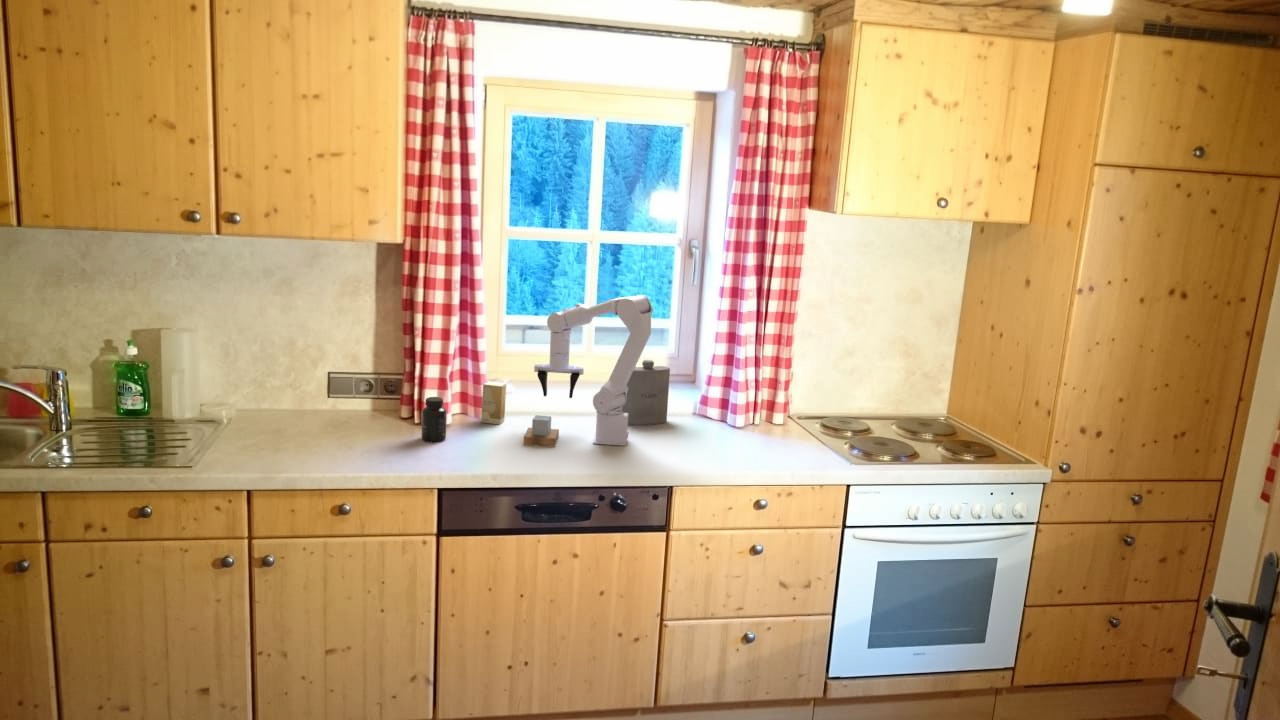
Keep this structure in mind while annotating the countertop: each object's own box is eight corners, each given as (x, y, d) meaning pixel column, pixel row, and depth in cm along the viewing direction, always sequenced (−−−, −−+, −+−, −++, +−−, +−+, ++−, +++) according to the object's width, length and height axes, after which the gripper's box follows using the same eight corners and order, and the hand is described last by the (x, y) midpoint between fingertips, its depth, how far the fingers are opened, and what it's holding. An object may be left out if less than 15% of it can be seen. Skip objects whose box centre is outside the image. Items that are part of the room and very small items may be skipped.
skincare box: (480, 422, 285) (481, 383, 282) (485, 419, 289) (486, 380, 286) (501, 424, 284) (502, 385, 281) (505, 421, 288) (506, 382, 285)
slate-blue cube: (550, 431, 272) (551, 416, 271) (547, 435, 267) (548, 420, 266) (535, 430, 272) (536, 415, 271) (532, 434, 268) (532, 419, 267)
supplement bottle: (416, 440, 264) (416, 399, 262) (430, 434, 271) (430, 394, 268) (437, 444, 262) (437, 403, 259) (450, 438, 268) (451, 397, 266)
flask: (624, 426, 290) (628, 363, 286) (619, 420, 295) (622, 359, 291) (669, 424, 295) (673, 362, 291) (663, 418, 300) (667, 358, 296)
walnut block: (558, 439, 275) (558, 429, 274) (554, 448, 266) (555, 438, 265) (528, 437, 275) (528, 427, 274) (523, 446, 266) (523, 436, 266)
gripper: (585, 350, 281) (583, 394, 284) (537, 347, 281) (535, 391, 284) (583, 355, 274) (581, 400, 277) (533, 352, 274) (532, 397, 277)
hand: (558, 396), depth 280 cm, fingers open, 7 cm apart
